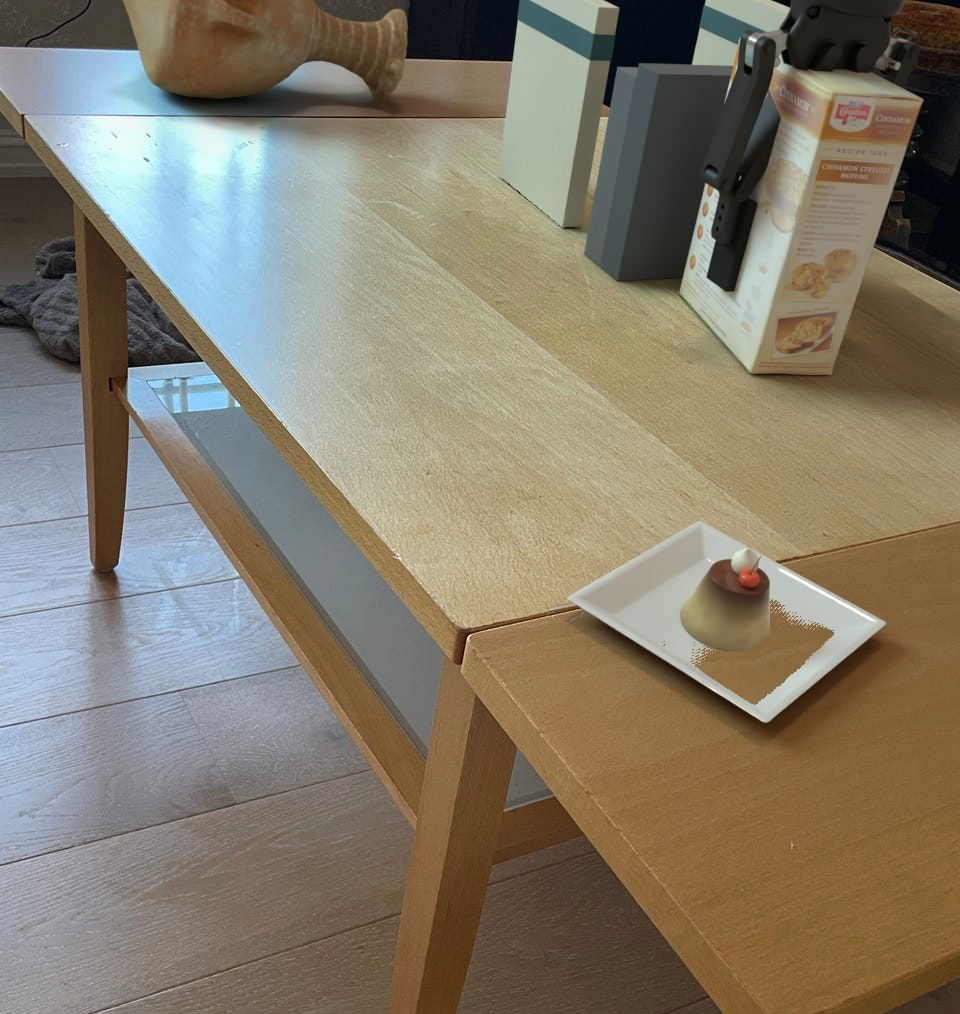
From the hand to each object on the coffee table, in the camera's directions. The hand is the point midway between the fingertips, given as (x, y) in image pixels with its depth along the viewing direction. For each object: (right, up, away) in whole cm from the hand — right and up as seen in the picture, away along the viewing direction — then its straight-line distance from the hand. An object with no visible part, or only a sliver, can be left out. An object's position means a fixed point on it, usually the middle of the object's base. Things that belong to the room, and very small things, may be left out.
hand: (765, 281), depth 89 cm
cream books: (-7, +16, +25) cm, 31 cm away
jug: (-45, +31, +38) cm, 67 cm away
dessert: (-9, -27, -28) cm, 40 cm away
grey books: (-6, +5, +12) cm, 15 cm away
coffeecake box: (-1, -3, +3) cm, 4 cm away
